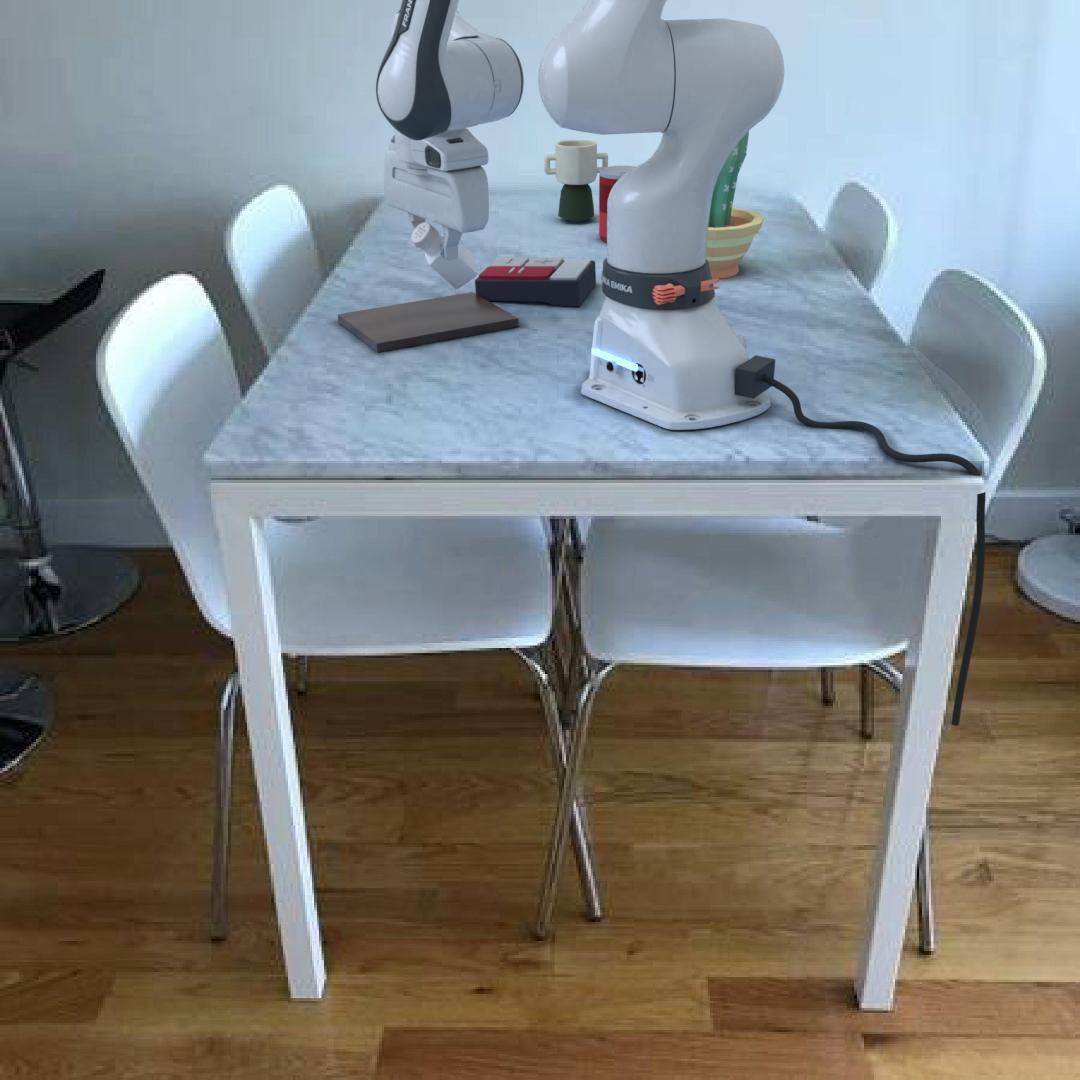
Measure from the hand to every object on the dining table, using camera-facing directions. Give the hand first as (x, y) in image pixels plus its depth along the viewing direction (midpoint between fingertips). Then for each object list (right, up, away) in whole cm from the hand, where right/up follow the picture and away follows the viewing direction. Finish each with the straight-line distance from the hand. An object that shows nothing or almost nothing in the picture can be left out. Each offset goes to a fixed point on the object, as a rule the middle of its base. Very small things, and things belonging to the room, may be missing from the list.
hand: (436, 253), depth 160 cm
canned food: (+27, +12, +42) cm, 51 cm away
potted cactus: (+39, +3, +25) cm, 46 cm away
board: (-1, -9, +3) cm, 10 cm away
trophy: (+20, +18, +54) cm, 60 cm away
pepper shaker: (+4, -2, +4) cm, 6 cm away
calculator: (+13, -2, +16) cm, 20 cm away
